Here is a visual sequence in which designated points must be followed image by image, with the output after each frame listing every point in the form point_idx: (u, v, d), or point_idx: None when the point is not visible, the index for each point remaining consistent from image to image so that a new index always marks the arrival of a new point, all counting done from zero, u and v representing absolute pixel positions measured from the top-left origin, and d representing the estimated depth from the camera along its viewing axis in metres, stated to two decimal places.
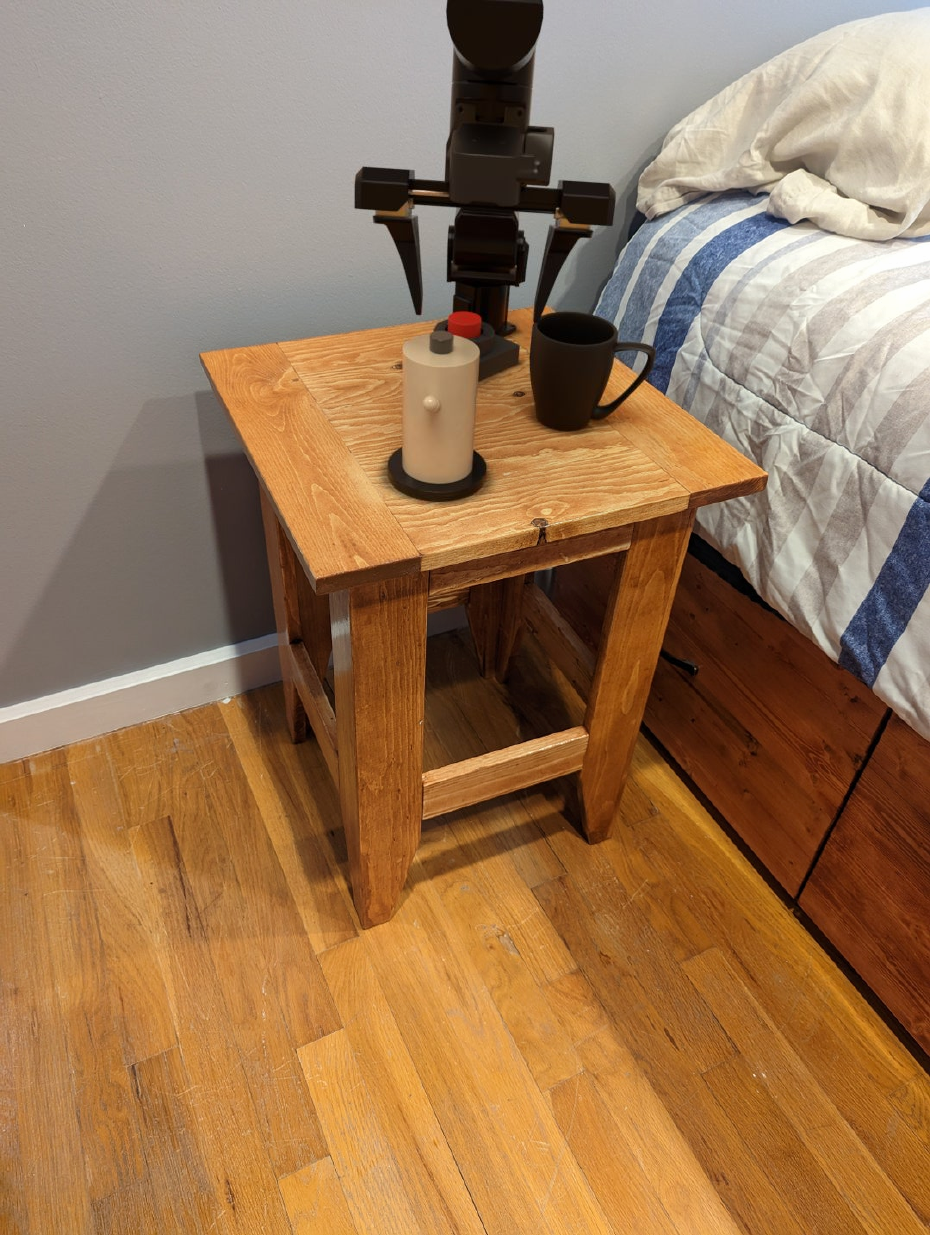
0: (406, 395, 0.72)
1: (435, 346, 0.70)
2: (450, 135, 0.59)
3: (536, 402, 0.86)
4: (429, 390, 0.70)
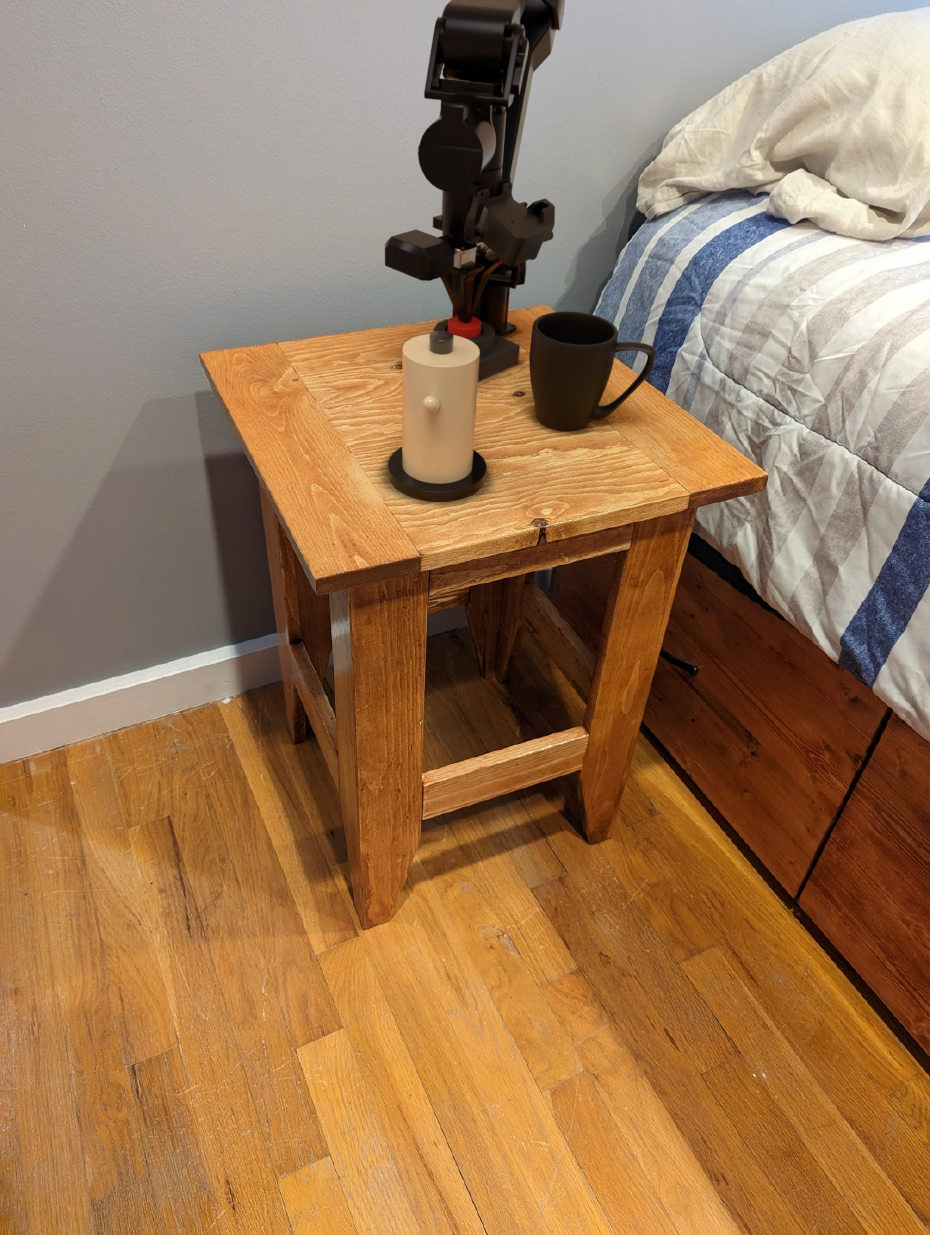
0: (406, 395, 0.72)
1: (435, 346, 0.70)
2: (476, 213, 0.82)
3: (536, 402, 0.86)
4: (429, 390, 0.70)
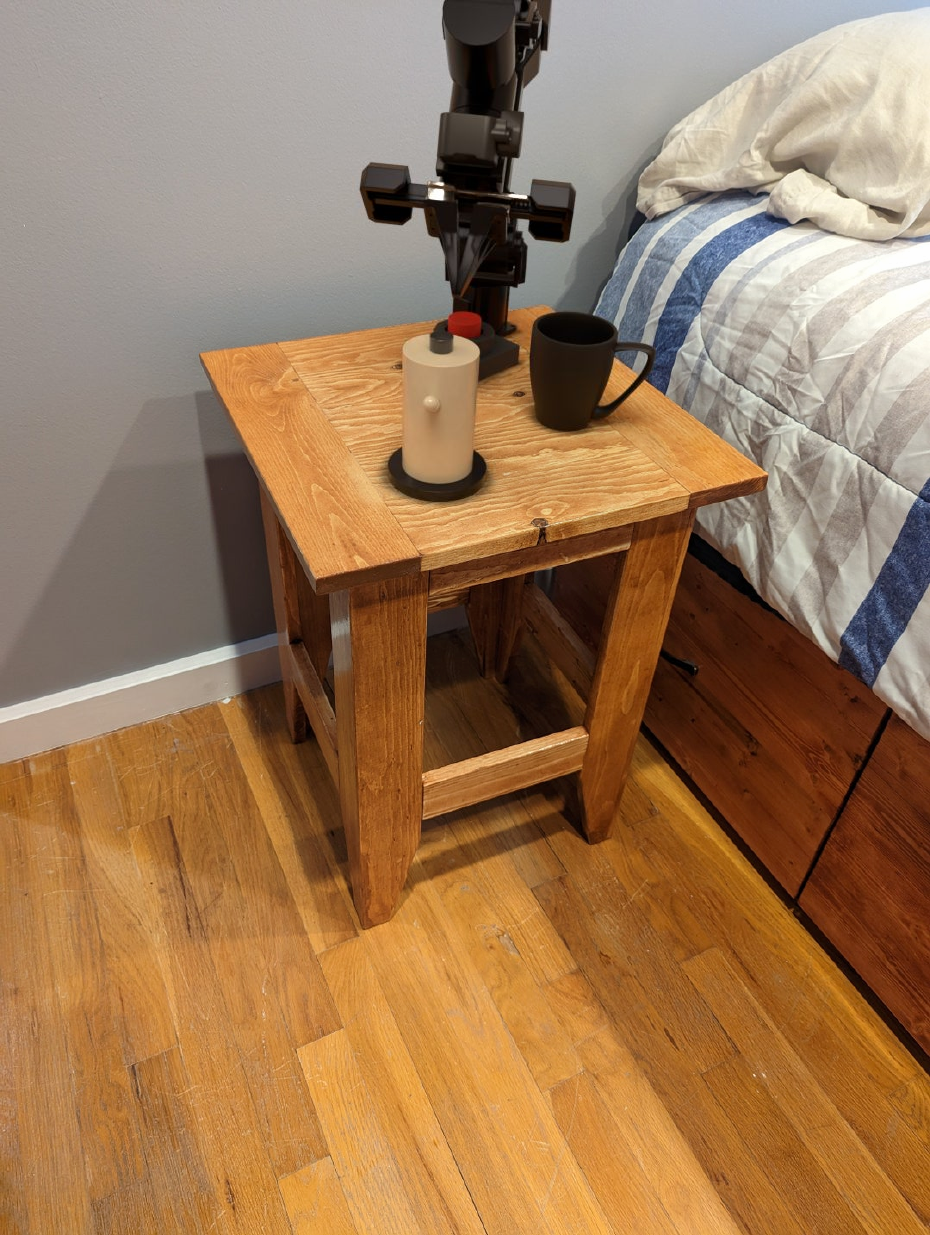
0: (406, 395, 0.72)
1: (435, 346, 0.70)
2: None
3: (536, 402, 0.86)
4: (429, 390, 0.70)
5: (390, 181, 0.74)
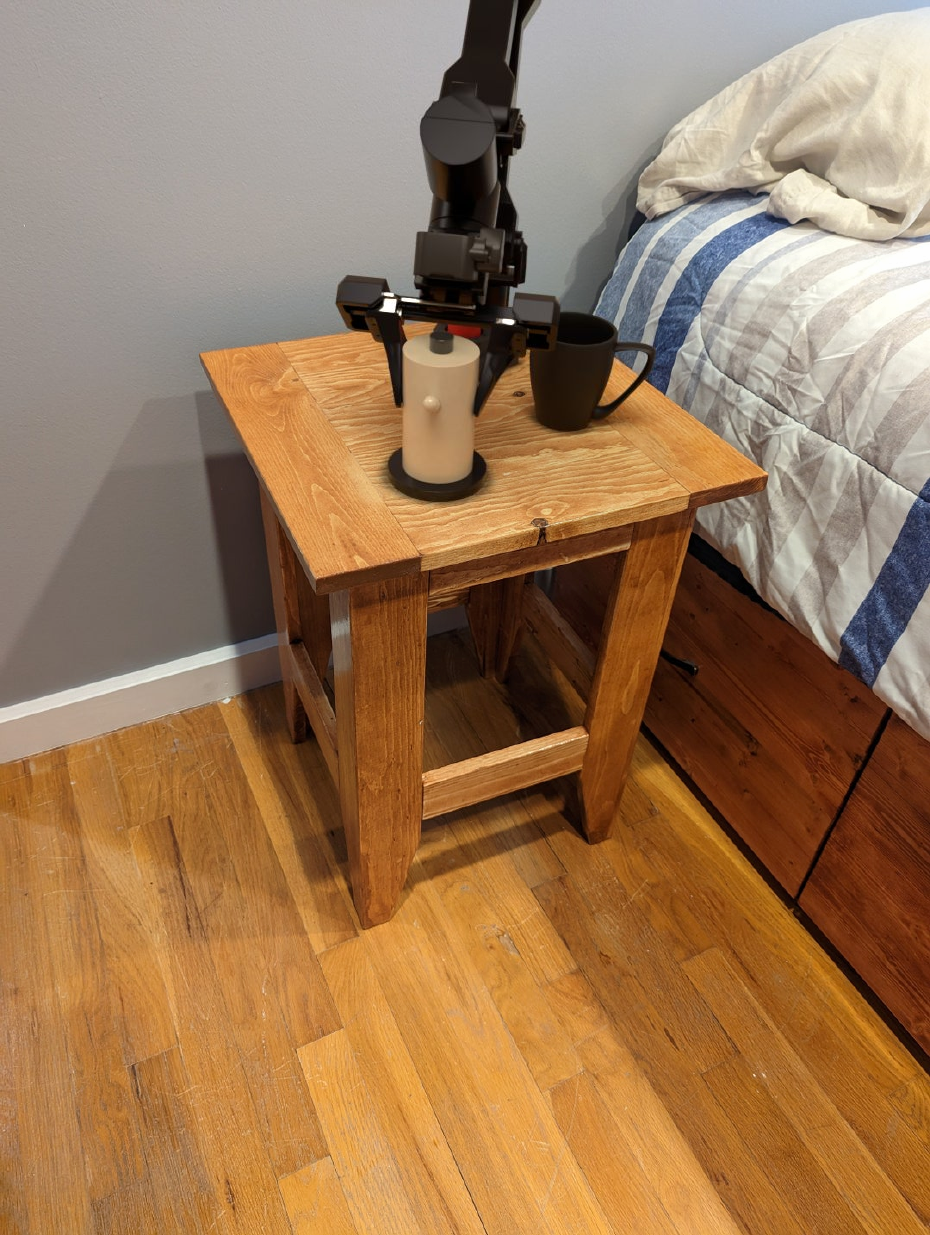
0: (406, 395, 0.72)
1: (435, 346, 0.70)
2: None
3: (536, 402, 0.86)
4: (429, 390, 0.70)
5: (367, 296, 0.71)
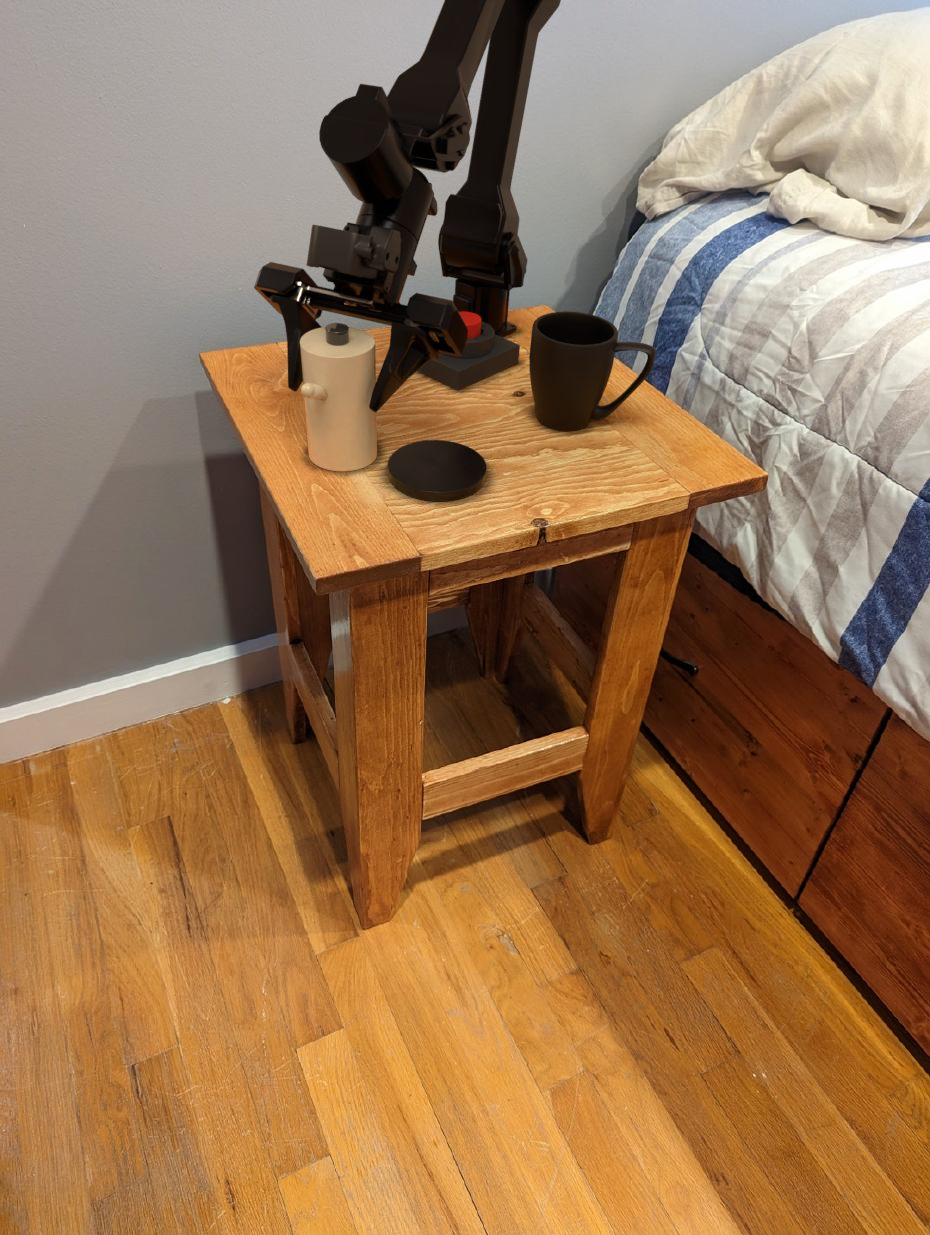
0: None
1: (328, 337, 0.73)
2: None
3: (536, 402, 0.86)
4: (316, 378, 0.73)
5: (280, 283, 0.75)
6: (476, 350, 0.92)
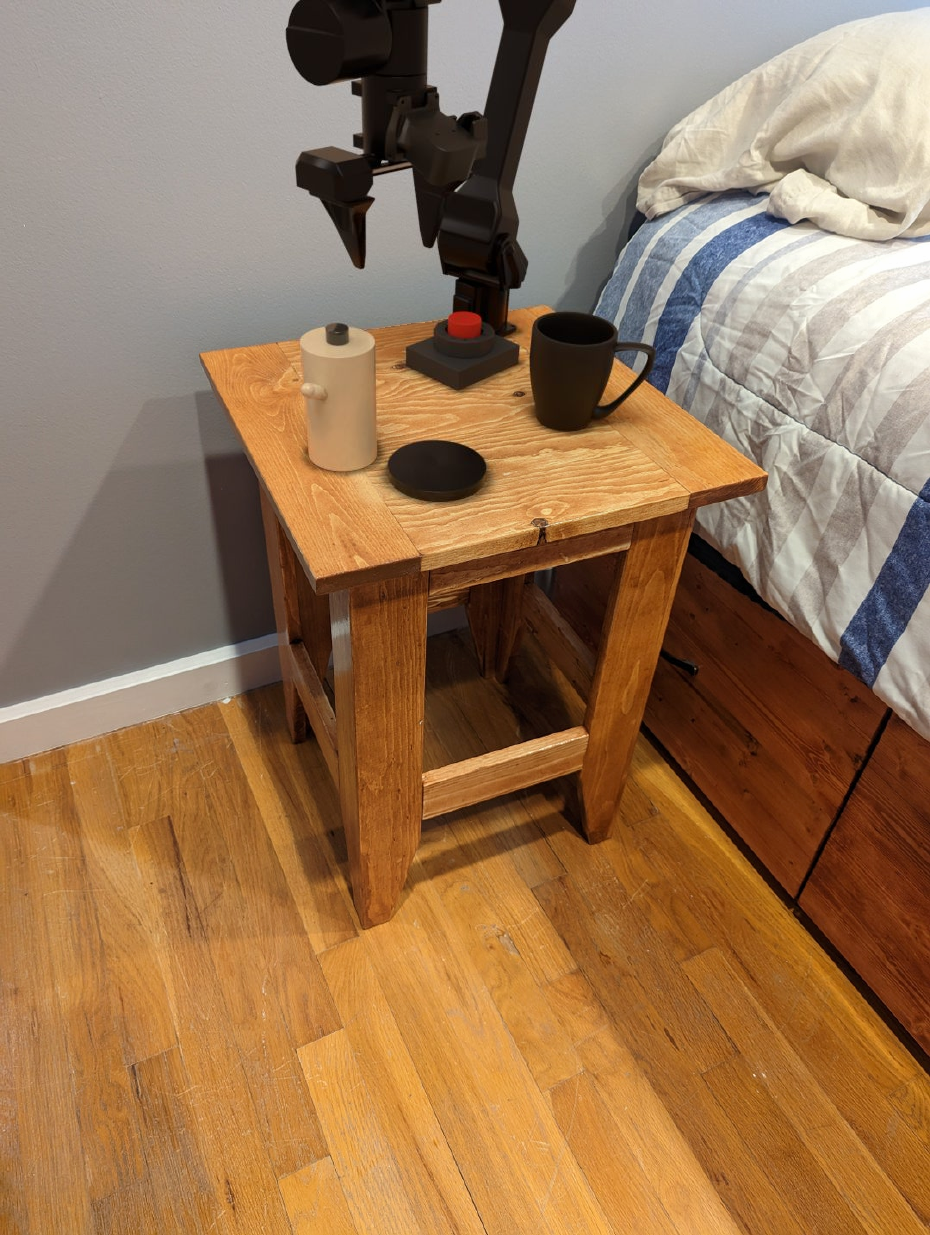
0: None
1: (328, 337, 0.73)
2: (397, 124, 0.73)
3: (536, 402, 0.86)
4: (316, 378, 0.73)
5: (363, 187, 0.74)
6: (476, 350, 0.92)
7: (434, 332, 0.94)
